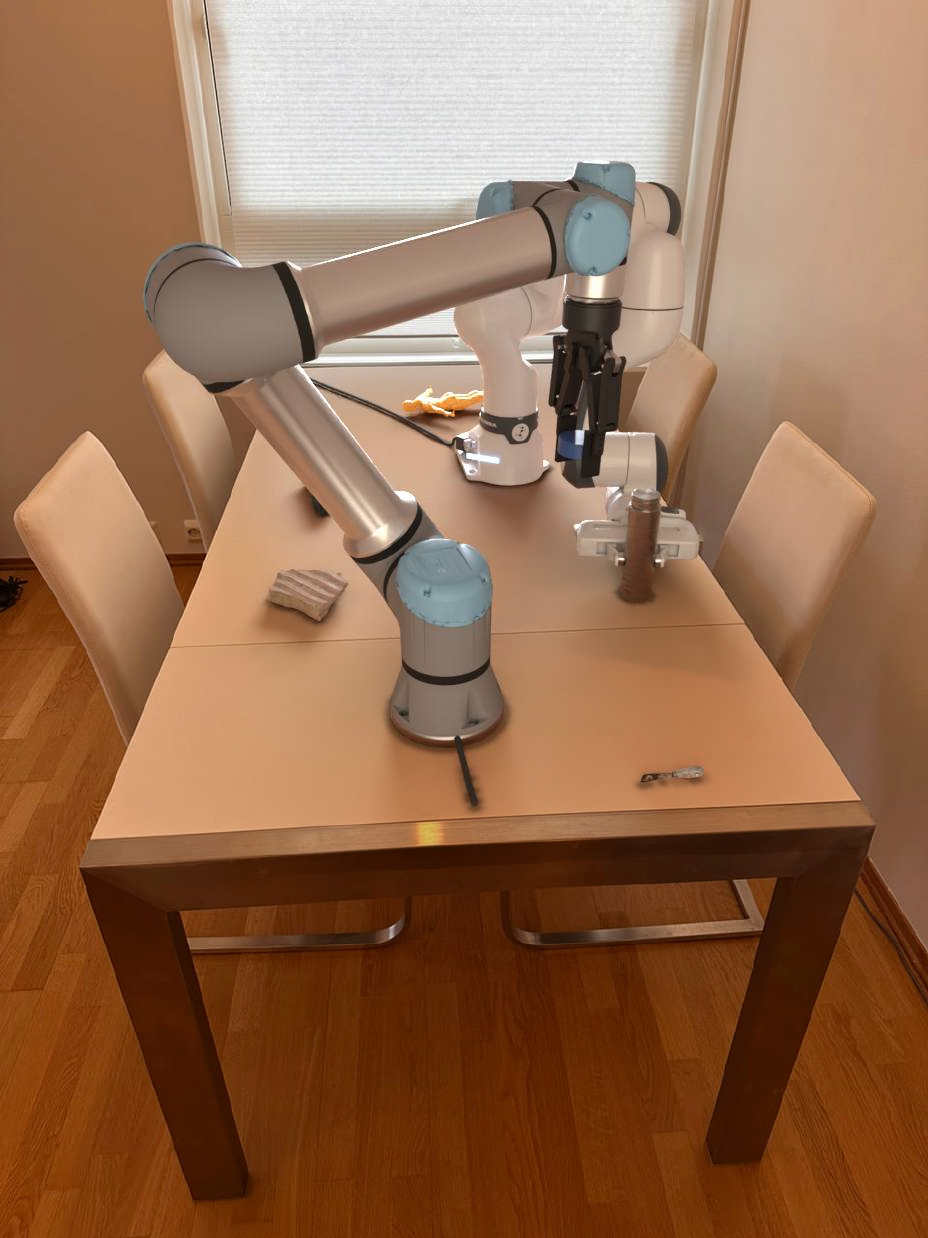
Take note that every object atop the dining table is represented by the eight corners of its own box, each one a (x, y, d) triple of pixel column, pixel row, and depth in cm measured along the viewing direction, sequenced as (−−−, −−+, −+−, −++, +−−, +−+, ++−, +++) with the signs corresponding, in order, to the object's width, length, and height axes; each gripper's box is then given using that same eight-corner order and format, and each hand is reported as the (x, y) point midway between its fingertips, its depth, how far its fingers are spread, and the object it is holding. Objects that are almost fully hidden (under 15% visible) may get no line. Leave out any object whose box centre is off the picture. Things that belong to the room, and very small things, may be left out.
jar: (622, 585, 150) (632, 485, 140) (652, 589, 149) (665, 489, 139) (617, 599, 146) (627, 497, 136) (648, 604, 145) (660, 502, 135)
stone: (357, 587, 149) (356, 574, 148) (321, 622, 140) (319, 608, 139) (291, 573, 154) (290, 560, 152) (252, 607, 144) (250, 593, 143)
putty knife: (703, 777, 109) (705, 767, 109) (642, 788, 108) (644, 777, 107) (700, 772, 110) (702, 762, 109) (639, 782, 109) (640, 771, 108)
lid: (557, 458, 122) (558, 443, 121) (557, 443, 127) (558, 429, 126) (600, 461, 122) (601, 445, 121) (598, 446, 127) (600, 431, 126)
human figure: (395, 413, 223) (394, 398, 221) (438, 390, 237) (438, 375, 235) (462, 429, 215) (462, 413, 213) (502, 404, 229) (503, 388, 227)
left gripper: (663, 310, 108) (638, 487, 120) (576, 281, 122) (562, 442, 134) (612, 315, 105) (592, 496, 117) (529, 284, 119) (519, 450, 131)
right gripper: (574, 506, 154) (576, 543, 142) (694, 510, 153) (706, 547, 141) (572, 539, 157) (573, 577, 146) (689, 543, 156) (700, 582, 144)
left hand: (576, 467), depth 126 cm, fingers closed on lid, 6 cm apart
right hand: (639, 562), depth 143 cm, fingers closed on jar, 5 cm apart
